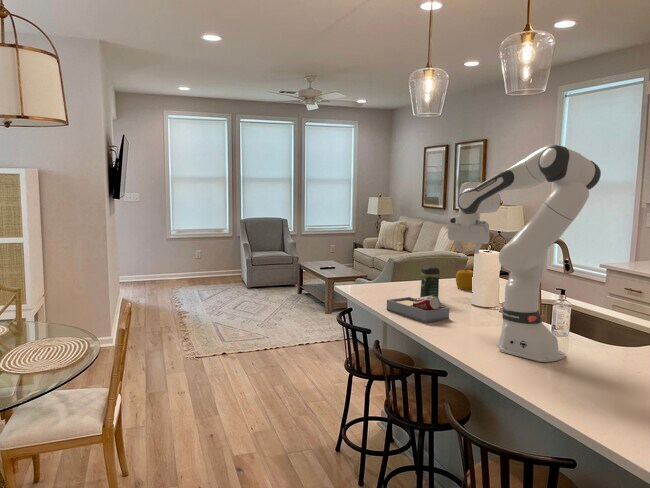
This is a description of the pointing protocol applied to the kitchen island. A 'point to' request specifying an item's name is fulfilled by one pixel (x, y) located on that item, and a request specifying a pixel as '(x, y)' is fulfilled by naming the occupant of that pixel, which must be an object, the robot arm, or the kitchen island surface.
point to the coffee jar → (429, 281)
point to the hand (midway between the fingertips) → (467, 252)
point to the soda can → (427, 303)
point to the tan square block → (406, 302)
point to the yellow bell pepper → (464, 279)
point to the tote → (417, 311)
